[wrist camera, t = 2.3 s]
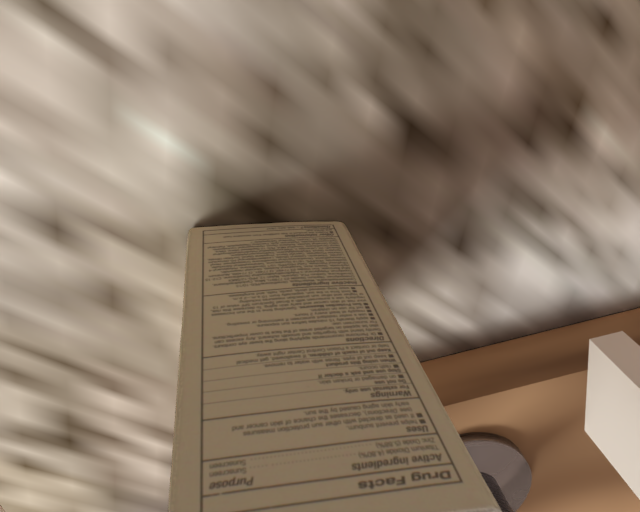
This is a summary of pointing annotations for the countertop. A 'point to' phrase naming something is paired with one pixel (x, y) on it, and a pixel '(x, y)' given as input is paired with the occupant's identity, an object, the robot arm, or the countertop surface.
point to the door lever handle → (500, 467)
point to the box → (304, 385)
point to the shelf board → (540, 411)
